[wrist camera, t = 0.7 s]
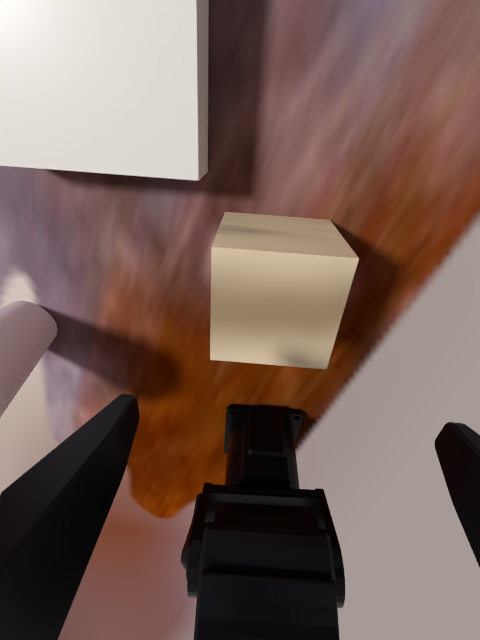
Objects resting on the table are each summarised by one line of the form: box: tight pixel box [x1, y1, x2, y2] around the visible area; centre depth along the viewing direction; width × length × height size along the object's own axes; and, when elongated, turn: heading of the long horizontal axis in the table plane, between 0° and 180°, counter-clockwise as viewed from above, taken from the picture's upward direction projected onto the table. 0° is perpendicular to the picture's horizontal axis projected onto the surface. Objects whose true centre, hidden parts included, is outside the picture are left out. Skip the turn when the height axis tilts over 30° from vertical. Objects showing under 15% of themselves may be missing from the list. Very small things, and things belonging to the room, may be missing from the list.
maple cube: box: [210, 212, 359, 369], centre depth 16 cm, size 6×6×6 cm
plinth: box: [0, 0, 209, 181], centre depth 12 cm, size 10×10×3 cm
